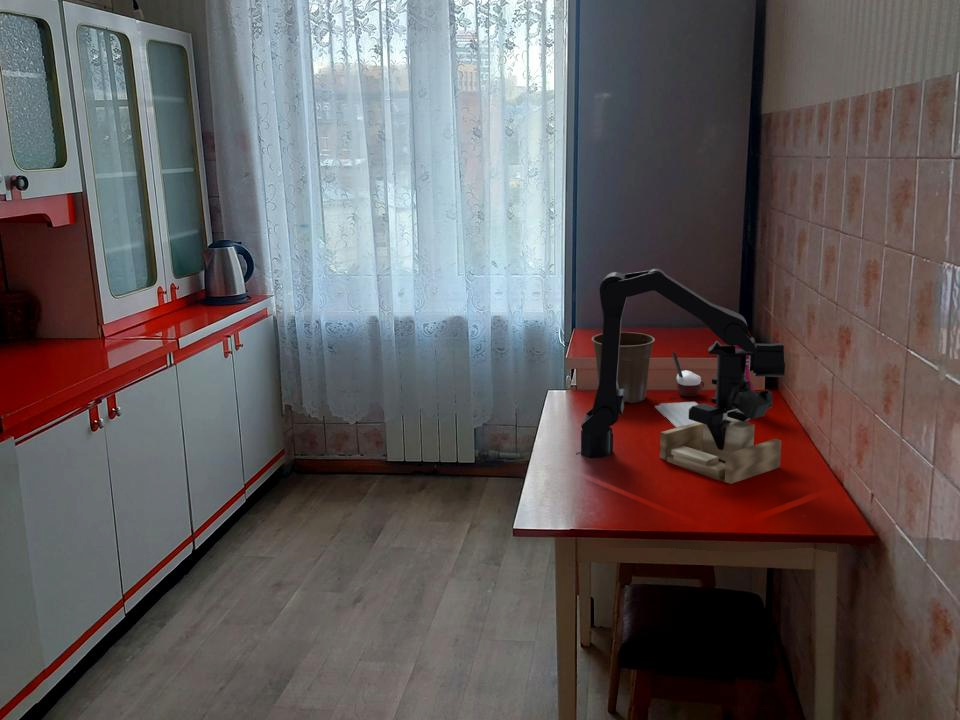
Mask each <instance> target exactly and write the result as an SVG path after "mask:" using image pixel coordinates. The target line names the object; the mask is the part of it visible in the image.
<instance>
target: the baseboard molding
mask: <svg viewBox="0 0 960 720" xmlns="http://www.w3.org/2000/svg"><path fill="white" fill-rule="evenodd" d="M669 400H679V397H678V396H677V397H669ZM681 400H682V402H667V403H665V402H663V403H662V402H661V401H667V399H663V400H660V402H661V403H660V404H658V405H654V404H655V403H650V406H652V408H655V409H656V410H657V411H658V412H659V413H660V414H661V415H662V416H663V417H664V418H665V417H666V418H667V419H668V420H669V421H670V422H669V421H668V420H667V419H666V418H665V419H666V420H667V421H668V422H669V423H670V424H671V425H673V426H674V428H678V427H681V426H685V425H689V424H692V423H696V421H693V420H690V419H689V409H690V408H691V407H692V406H695V405H699V403H697V402H696V401H695V400H696V398H695V397H693V401H684V400H687V398H685V399H680V401H681ZM654 401H655V402H657V400H656V399H655V400H654ZM683 401H684V402H683Z"/></svg>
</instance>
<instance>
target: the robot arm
mask: <svg viewBox="0 0 960 720" xmlns="http://www.w3.org/2000/svg"><path fill="white" fill-rule="evenodd" d="M653 291H654V292H657V293H658V294H659V295H661V296H663V298H664V297H665V298H666V299H667V300H669V301H670V302H672V303H673V304H675V305H676V306H678V307H680V308H682V309H683V310H684V311H686V312H687V313H689V314H691V315H692V316H694V317H695V318H697V319H699V320H700V321H701V322H702V323H703V324H705V325H706V326H707V328H709V330H710V331H711V332H712V333H713V334H714V335H716V337H717V338H718V339H720V341H722V343H724V344H721V343H720V342H719V341H718V340H715V342H714V343H713V344H712V345H710V346H709V347H708V348H707V349H708V354H709V355H713V356H714V355H716V356H717V357H716V377H715V378H711V384H712V385H715V397H711V398H710V402H711V404H715V406H714V405H711V404H707V403H701V404H699V403H698V405H695V406H692V407H691V408H690V409H689V419H690V420H693V421H696V422H699V423H703V424H706V425H707V427H708V428H709V430H710V432H711V434H712V437H713V439H714V441H715V443H716V445H717V448H718V449H720V450H723V447H724V442H725V433H726V427H727V426H728V425H729V424H730V423H731V422H732V421H729V420H727V417H730V418H733V419H736V420H740V421H743V422H746V423H748V422H749V421H750V420H755V419H757V418H761V417H765V415H766V413H767V411H768V410H769V409H771V408H773V399H774V398H773V392H772V391H770V389H763V390H760V392H759V391H758V390H756V391H755V390H754V391H752V390H751V388H750V385H751V384H750V383H749V382H750V381H749V380H745V372H746V355H749V372H752V374H754V377H769V378H771V377H772V378H784V376H785V371H786V370H785V369H786V361H785V351H784V349H785V344H784V343H782V342H777V343H776V342H775V343H756V341H755V338H754V337H752V335H751V334H750V333H749V326H748V323H747V321H746V319H745V317H744V316H743V315H741V314H740V313H739V312H735V311H733V310H731V309H728V308H726V307H723V306H720V305H717V304H715V303H712V302H709V300H707V299H706V298H704V297H702V295H701V296H700V295H699V294H698V293H696V292H695V291H693V290H691V289H690V288H688V287H687V286H685V285H684V284H682V283H681V282H678V281H677V280H675V278H672V277H671V276H669V275H668V274H666V273H665V272H664V271H663V270H662V269H661V268H652V269H649V270H644V271H637V272H635V271H634V272H630V273H622V272H620V271H619V272H618V271H613V272H610V273H608V274H606V275H605V277H604V278H603V280H602V281H601V283H600V285H599V298H600V299H599V300H600V306H601V313H602V317H603V318H602V320H603V321H602V333H603V335H602V350H601V365H600V380H599V386H597V390H596V392H595V393H596V394H595V397H594V401H593V405H592V408H590V409H589V410H588V411H587V412H586V413H585V414H584V418H583V420H582V423H581V426H580V428H581V430H580V451H578V452H575V455H577V456H578V455H582V456H584V457H586V458H589V459H594V458H597V459H599V458H600V459H601V458H606V457H608V456H610V454H612V453H613V452H614V433H613V427H612V426H614V425H615V424H616V423H618V420H619V416H622V415H623V411H624V408H625V403H623V396H624V392H625V389H619V387H618V381H617V377H618V363H619V349H620V334H621V332H622V319H623V314H624V310H625V306H626V302H627V300H628V298H629V297H634V296H637V295H641V294H644V293H647V292H653ZM735 345H737V346H738V347H740V348H741V349H735ZM742 349H743V350H742Z"/></svg>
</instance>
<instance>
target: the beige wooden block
mask: <svg viewBox="0 0 960 720" xmlns="http://www.w3.org/2000/svg"><path fill="white" fill-rule="evenodd" d="M727 420H729V421H732V422H731V423H730V424H729V425H728V426H727V427H726V433H725V442H724V447H723V450H720V449H718V448H717V445H716V443H715V441H714V439H713V437H712V434H711V432H710V430H709V428H708V427H707V425H706V424H703V447H702V452H705V453H708V454H711V455H714V456H717V457H718V459H721V460H724V461H726V454H728V453H731V452H734V451H738V450H741V449H744V448H747V447H751V446H754V444H755V443H754V442H755V426H756V425H755V424H753V423H750V422H747V423H746V422H743V421H740V420H736V419H733V418H730V417H727Z"/></svg>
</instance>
